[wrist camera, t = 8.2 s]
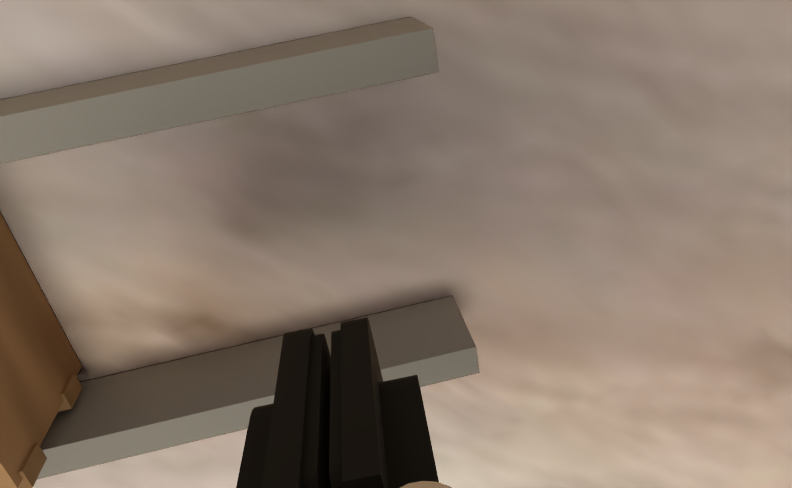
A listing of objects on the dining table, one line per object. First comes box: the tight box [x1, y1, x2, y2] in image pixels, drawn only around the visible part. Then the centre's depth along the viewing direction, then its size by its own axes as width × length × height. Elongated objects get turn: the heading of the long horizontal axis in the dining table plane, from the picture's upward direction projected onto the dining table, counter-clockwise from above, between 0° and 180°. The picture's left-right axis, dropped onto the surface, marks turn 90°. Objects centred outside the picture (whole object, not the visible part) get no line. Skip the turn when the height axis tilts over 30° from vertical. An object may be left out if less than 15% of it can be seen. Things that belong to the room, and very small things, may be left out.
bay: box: [0, 17, 480, 479], centre depth 15 cm, size 23×10×6 cm, turn 100°
